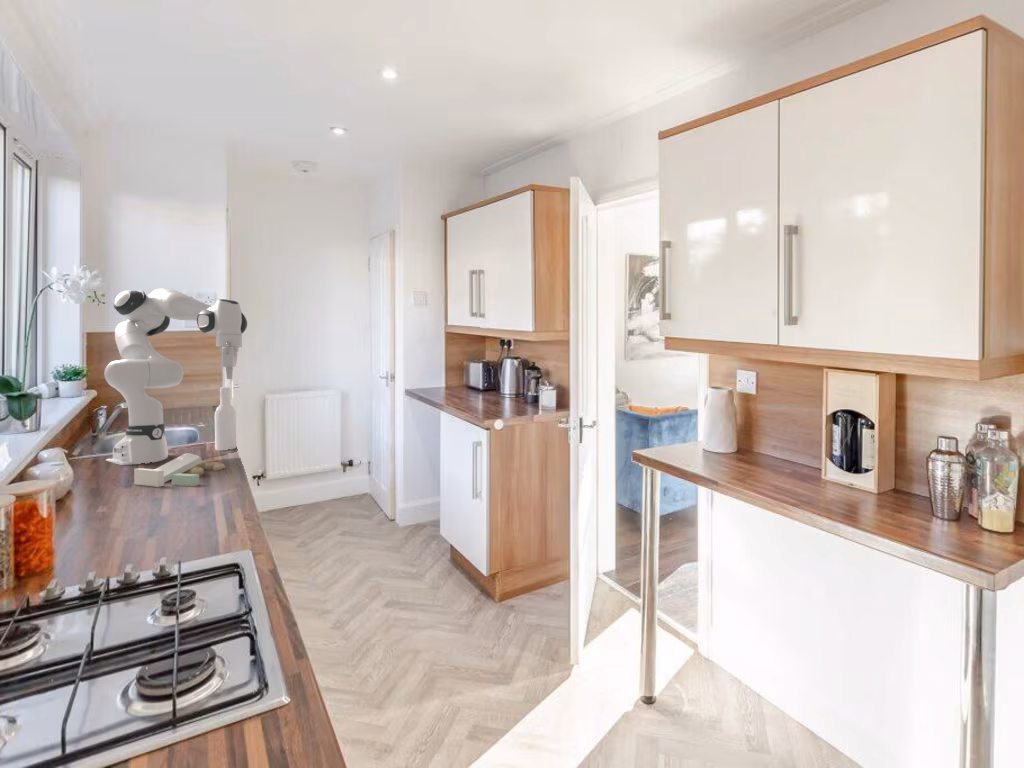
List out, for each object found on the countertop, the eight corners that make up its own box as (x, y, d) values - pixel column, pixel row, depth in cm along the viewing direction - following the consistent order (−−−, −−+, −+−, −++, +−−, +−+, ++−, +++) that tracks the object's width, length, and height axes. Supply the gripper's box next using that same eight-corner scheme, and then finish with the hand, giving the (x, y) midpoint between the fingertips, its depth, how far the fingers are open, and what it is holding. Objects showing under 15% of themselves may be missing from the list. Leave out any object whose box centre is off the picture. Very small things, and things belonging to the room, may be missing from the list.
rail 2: (191, 473, 210) (191, 462, 210) (201, 471, 214) (200, 460, 214) (216, 475, 206) (216, 464, 205) (225, 473, 209) (225, 462, 209)
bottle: (215, 462, 235) (214, 387, 234) (214, 459, 242) (213, 387, 241) (237, 461, 238) (236, 387, 237) (236, 458, 245) (235, 387, 244)
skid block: (171, 485, 189) (171, 474, 189) (179, 483, 192) (179, 473, 192) (192, 486, 187) (191, 476, 187) (199, 485, 190) (199, 474, 190)
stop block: (134, 484, 190) (134, 469, 190) (140, 483, 192) (140, 468, 192) (158, 486, 186) (158, 471, 186) (164, 485, 188) (163, 470, 188)
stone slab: (149, 478, 196) (147, 473, 196) (189, 457, 207) (186, 452, 206) (163, 483, 191) (160, 478, 191) (202, 461, 202) (200, 456, 201)
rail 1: (168, 477, 202) (168, 466, 202) (178, 475, 205) (178, 464, 205) (193, 480, 197) (193, 468, 197) (204, 478, 201) (203, 466, 201)
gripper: (236, 341, 212) (237, 379, 213) (239, 343, 231) (239, 378, 232) (217, 341, 210) (217, 379, 210) (221, 343, 229) (222, 378, 229)
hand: (229, 379), depth 221 cm, fingers closed
